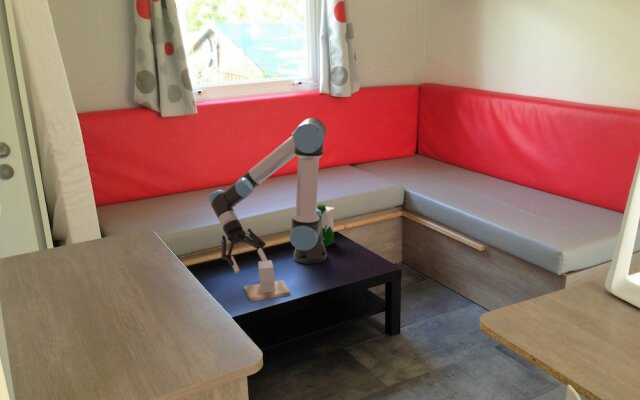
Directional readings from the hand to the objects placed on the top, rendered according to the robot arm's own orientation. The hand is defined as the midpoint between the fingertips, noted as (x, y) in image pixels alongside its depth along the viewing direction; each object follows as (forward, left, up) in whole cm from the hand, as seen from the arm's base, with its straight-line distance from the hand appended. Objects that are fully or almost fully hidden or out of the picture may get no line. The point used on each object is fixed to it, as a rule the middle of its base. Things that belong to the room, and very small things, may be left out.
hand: (252, 267), depth 224 cm
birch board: (-3, +10, -7) cm, 13 cm away
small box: (-4, +9, -6) cm, 12 cm away
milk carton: (-42, -31, -8) cm, 53 cm away
